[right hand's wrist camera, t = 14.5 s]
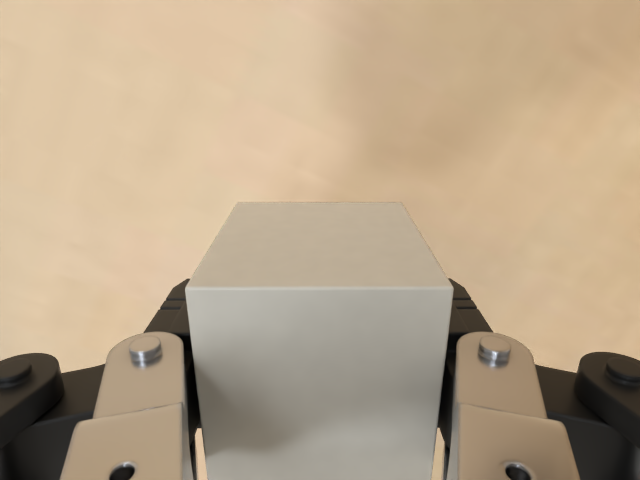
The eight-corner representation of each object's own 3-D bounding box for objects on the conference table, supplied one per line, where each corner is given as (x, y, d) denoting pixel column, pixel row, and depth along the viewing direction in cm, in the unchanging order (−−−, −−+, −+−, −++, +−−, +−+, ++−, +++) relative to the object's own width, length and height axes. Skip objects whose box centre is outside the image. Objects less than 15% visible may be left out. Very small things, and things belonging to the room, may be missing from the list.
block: (236, 201, 12) (183, 287, 7) (402, 201, 12) (455, 287, 7) (247, 364, 13) (211, 515, 9) (391, 364, 13) (427, 515, 9)
